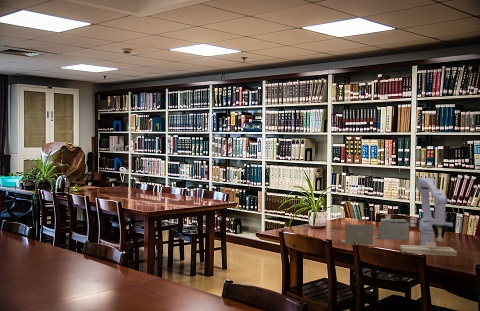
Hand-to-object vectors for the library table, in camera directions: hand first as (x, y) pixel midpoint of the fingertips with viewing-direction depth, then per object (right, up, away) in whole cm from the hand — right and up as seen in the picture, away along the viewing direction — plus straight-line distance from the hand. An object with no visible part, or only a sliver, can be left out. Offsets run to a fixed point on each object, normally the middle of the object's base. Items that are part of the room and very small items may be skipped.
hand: (439, 237), depth 307 cm
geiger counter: (-17, -8, +41) cm, 45 cm away
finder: (-4, -6, +3) cm, 8 cm away
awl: (0, -2, 0) cm, 2 cm away
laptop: (-44, -8, +27) cm, 52 cm away
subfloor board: (-7, -9, 0) cm, 11 cm away
